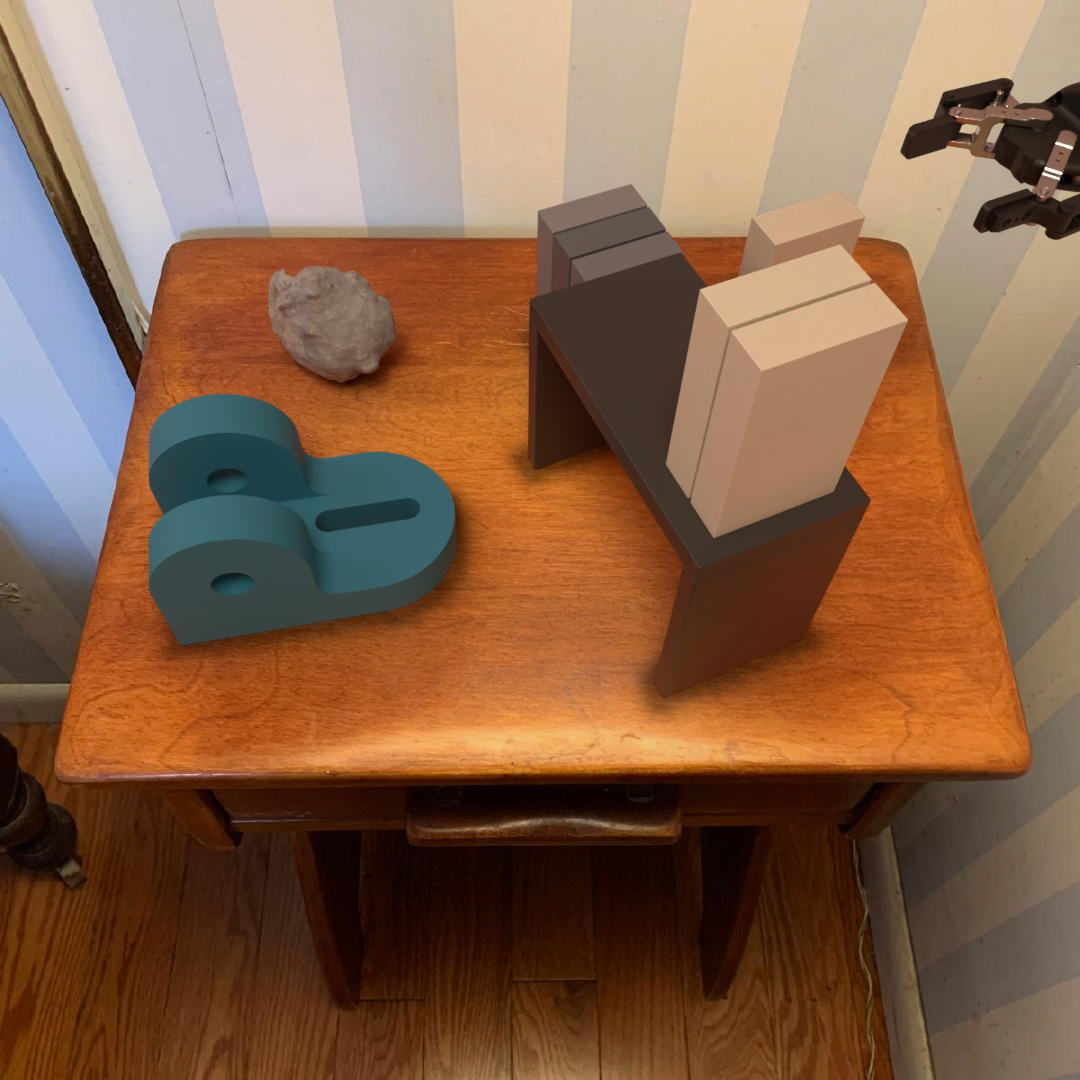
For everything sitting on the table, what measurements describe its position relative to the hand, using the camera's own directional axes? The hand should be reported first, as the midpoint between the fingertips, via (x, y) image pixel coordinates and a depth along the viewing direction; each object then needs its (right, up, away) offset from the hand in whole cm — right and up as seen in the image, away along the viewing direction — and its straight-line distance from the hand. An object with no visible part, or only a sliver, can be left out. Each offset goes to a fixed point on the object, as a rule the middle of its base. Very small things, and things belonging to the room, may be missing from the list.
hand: (942, 181), depth 71 cm
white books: (-17, -22, -19) cm, 34 cm away
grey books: (-23, -11, +6) cm, 27 cm away
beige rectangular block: (-10, -10, +7) cm, 16 cm away
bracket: (-42, -26, -4) cm, 50 cm away
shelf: (-20, -25, -3) cm, 32 cm away
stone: (-43, -12, +5) cm, 45 cm away
